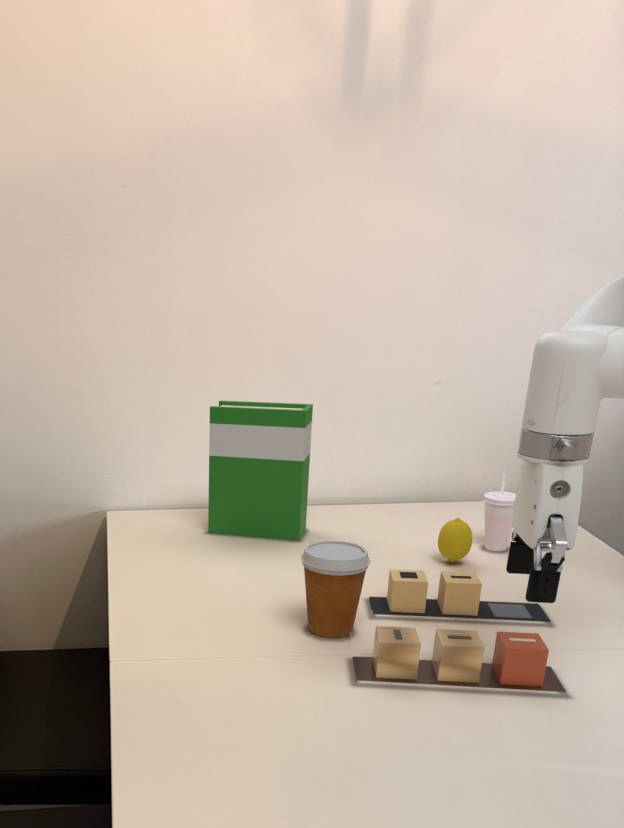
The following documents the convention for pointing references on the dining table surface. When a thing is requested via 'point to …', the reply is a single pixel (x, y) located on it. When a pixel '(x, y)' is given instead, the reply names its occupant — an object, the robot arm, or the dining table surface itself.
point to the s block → (520, 658)
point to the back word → (448, 599)
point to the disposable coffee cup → (333, 585)
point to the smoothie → (498, 517)
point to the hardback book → (259, 468)
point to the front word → (435, 661)
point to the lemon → (455, 540)
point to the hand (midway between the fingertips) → (529, 586)
